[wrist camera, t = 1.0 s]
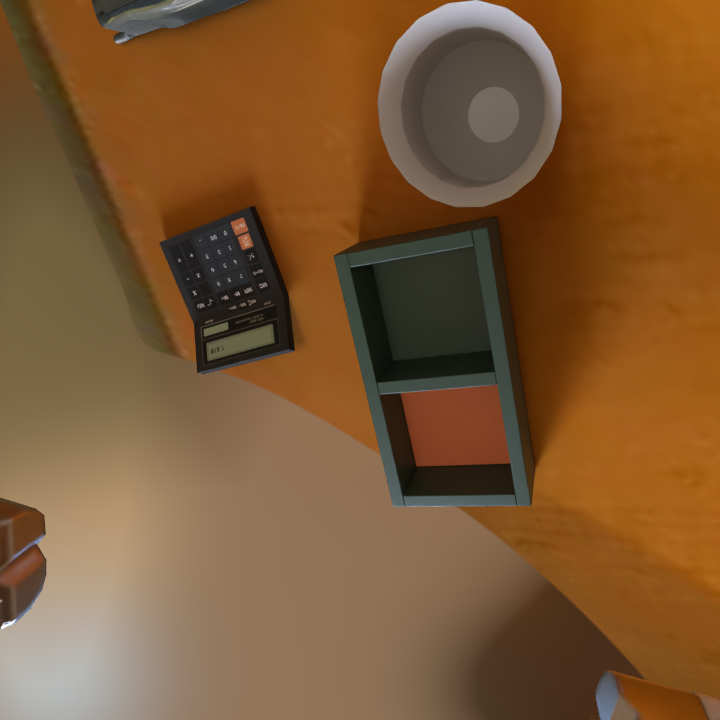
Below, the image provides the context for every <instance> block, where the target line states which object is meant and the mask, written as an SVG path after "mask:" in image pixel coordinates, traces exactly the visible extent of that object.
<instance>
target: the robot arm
mask: <svg viewBox="0 0 720 720" xmlns="http://www.w3.org/2000/svg"><path fill="white" fill-rule="evenodd" d="M45 534H46V532H45V520H44V515H43V514H42V513H41V512H39V511H38V510H37V509H35V508H32V507H28V506H25V505H22V504H19V503H16V502H13V501H9V500H6V499H3V498H0V629H1V628H4V627H6V626H9V625H12V624H14V623H16V622H17V621H18V620H19V619H20V618H21V617H22V616H23V615H24V614H25V613H26V612H27V611H28V610H30V609H31V607H32V605H33V604H34V602H35V600H36V599H37V597H38V596H39V594H40V592H41V591H42V588H43V584H44V581H45V577H46V559H45V557H44V555H43V554H42V552H41V550H40V548H39V547H38V545H37V544H38V543H39V542H40V540H41V539H42V538H43V537H44V536H45ZM595 694H596V699H597V704H598V709H599V713H598V714H596V715H595V716H593V717H591V718H589V719H587V720H720V699H718V698H714V697H710V696H706V695H702V694H698V693H694V692H692V693H689V692H687V691H683V690H680V689H676V688H672V687H669V686H665V685H661V684H658V683H654V682H650V681H647V680H643V679H639V678H636V677H632V676H629V675H625V674H621V673H618V672H614V671H610V670H607V671H606V672H605V673H604V675H603V676H602V677H601V679H600V682H599V685H598V688H597V691H596V693H595Z"/></svg>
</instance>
